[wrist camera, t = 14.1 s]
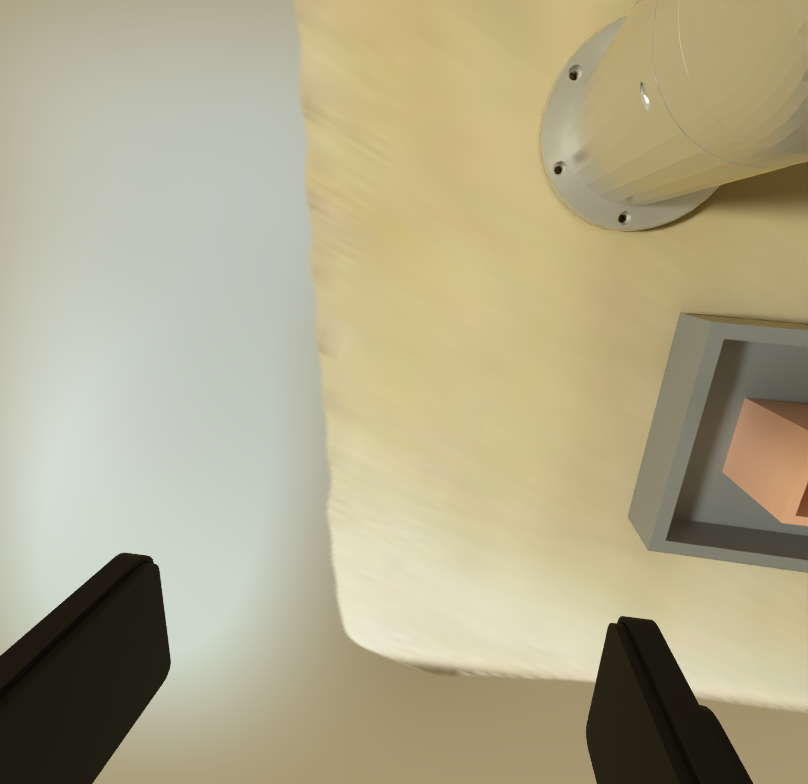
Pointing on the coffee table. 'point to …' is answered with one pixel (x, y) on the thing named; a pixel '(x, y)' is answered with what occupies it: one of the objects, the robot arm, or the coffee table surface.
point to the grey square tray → (717, 442)
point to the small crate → (772, 457)
